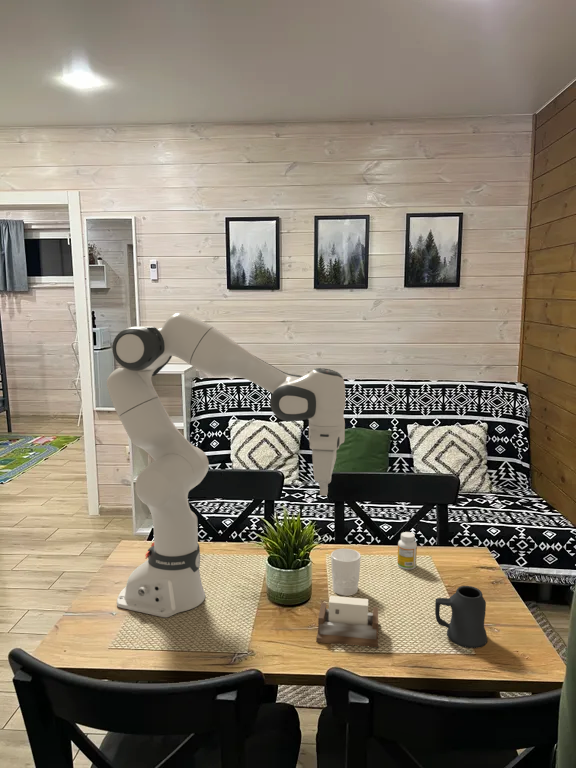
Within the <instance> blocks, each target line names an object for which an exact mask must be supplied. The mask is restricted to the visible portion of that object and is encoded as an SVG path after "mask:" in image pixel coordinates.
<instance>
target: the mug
mask: <svg viewBox="0 0 576 768" xmlns="http://www.w3.org/2000/svg"><path fill="white" fill-rule="evenodd" d="M455 591H456V592H455V593H453V594H452V595H451V596H450V597H439V598H438V597H436V598H435V602H434V603H435V604H434V605H435V606H434V609H435V612H434V613H435V620H436V622H437V624H438V625H440V626H441V627H445V628H446V629H447V631H446V636H447V638H448V639H449V641H451V642H452V643H453V644H455V645H456V646H459V647H462V648H467V649H478V648H483V647H484V646H486V644H487V643H488V636H487V631H486V628H485V619H486V618H485V617H486V609H487V608H486V607H487V600H486V599H485V598H484V596H483V592H482V591H481V590H480V588H477V587H475V586H471V585H461V586H458V587H457V588H456V590H455ZM441 606H446V607H450V609H451V617H450V622H449V623H448V622H447V621H446V620H444V619H442V618H441V616H440V610H441Z"/></svg>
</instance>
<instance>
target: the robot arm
mask: <svg viewBox="0 0 576 768" xmlns="http://www.w3.org/2000/svg"><path fill="white" fill-rule="evenodd" d="M111 347H112V349H111V350H112V354H113V357H114V359H115V361H116V362H117V363H118V365H120V366H119V367H118V368H115V369H114V370H113V371H112V372H111V373H110V374H109V376H108V377H107V379H106V387H107V391H108V394H109V397H110V400H111V403H112V406H113V408H114V410H115V412H116V414H117V416H118V418H119V420H120V422H121V425H123V427H124V430H125V431H126V434H127V436H128V437H129V439H130V442H131V443H132V444H133V445H134V446H135V447H137V448H140V449H142V450H143V451H145V452H146V453H147V454H148V456H150V457H151V458H152V459H153V461H151V462H150V463H149V464H147V465H146V466H145V467H144V468H143V469H142V471H140V473H139V474H138V476H137V478H136V480H135V485H134V486H135V492H136V495H137V497H138V499H139V500H140V501H141V502H142V503H143V504H144V505H146V506H147V508H148V509H149V512H150V515H151V520H152V525H153V528H152V529H153V542H152V543H151V545H150V547H149V548H148V549H147V552H146V553H145V558H144V559H146V560H145V561H144V562H143V563H141V564H140V565H138V566H137V567H136V568H135V569H134V570H133V571H132V572H131V573H130V575H129V577H128V578H127V582H126V584H125V585H126V586H125V587H124V588H122V590H121V591H120V592H119V594H118V596H117V598H116V606H117V608H121V609H125V610H130V611H134V612H139V613H143V614H147V615H148V614H149V615H152V616H156V617H160V618H169V617H171V616H173V615H176V614H178V613H182V612H186V611H190V610H192V609H195V608H196V607H198V606H199V605H201V604H202V603H203V602H204V600H205V599H206V593H205V590H204V587H203V583H202V578H201V570H200V567H201V550H200V544H199V542H198V540H199V536H198V534H199V533H198V516H197V515H196V514H195V512H194V511H192V509H191V508H190V503H189V499H188V497H189V492H190V491H192V490H193V489H194V488H195V487H196V486H198V485H200V484H201V482H202V481H203V480H204V478H205V477H206V475H207V473H208V471H209V467H210V463H209V458H208V456H207V454H206V452H205V451H203V450H202V449H201V448H199V447H197V446H195V445H193V444H192V443H191V442H190V441H189V440H188V439H187V438H186V437H185V436H184V435H183V433H181V432H180V430H179V429H178V428H177V427H176V426H175V424H174V422H173V421H172V419H171V418H170V417H171V416H170V415H169V413H168V412H167V410H166V408H165V406H164V404H163V402H162V400H161V398H160V397H159V395H158V393H157V391H156V389H155V387H154V384H153V382H152V378H153V377H155V376H156V375H157V374H158V373H159V372H160V371H161V370H163V368H165V366H166V365H167V364H168V363H169V362H170V361H171V359H172V358H173V357H176V358H178V359H180V360H182V361H184V362H185V363H187V364H189V365H190V366H191V367H193V368H196V369H197V370H198V371H200V372H203V373H204V374H207V375H211V376H213V377H236V378H237V377H238V378H241V379H244V380H248V381H249V382H251V383H253V384H255V385H256V386H259V387H260V388H262V389H264V390H266V391H268V392H270V393H271V396H270V399H269V400H270V402H269V403H270V409H271V411H272V413H273V415H274V416H275V417H277V418H278V419H280V420H281V421H284V422H296V421H297V422H298V421H304V420H308V442H309V449H310V450H312V451H311V452H312V453H311V456H312V457H311V459H312V469H313V471H312V472H313V478H314V482H316V483H318V486H319V495H320V496H323V497H326V496H328V493H329V491H328V490H329V487H328V486H329V484H330V483H331V482H332V475H333V470H334V467H335V464H336V461H337V451H338V450H339V449H340V446H341V445H342V444H344V443H345V434H346V430H345V429H346V428H345V427H346V423H345V418H344V411H345V408H346V383H345V380H344V377H343V375H342V374H341V373H339V372H338V371H336V370H332V369H330V368H321V367H320V368H319V367H318V368H317V367H316V368H314V369H312V370H311V371H309V372H308V373H306V374H304V375H300V374H293V373H292V374H291V373H287V372H285V371H282V370H280V369H279V368H277V367H275V366H273V365H271V364H270V363H268V362H267V361H264V360H263V359H261V358H259V357H257V356H255V355H254V354H252V353H250V351H248V350H247V349H245V348H244V347H242V346H241V345H240V344H238V343H237V342H236V341H234V340H233V339H232V338H230V337H229V336H228V335H226V334H224V333H223V332H222V331H220V330H219V329H218V328H216V327H214V326H212V325H211V324H208V323H207V322H205V321H203V320H201V319H199V318H197V317H194V316H192V315H189V314H186V313H183V312H176V313H173V314H172V315H171V316H169V317H168V318H167V319H166V320H165V321H164V323H163V325H162V326H161V327H160V328H157V327H155V326H137V325H136V326H130V327H127V328H125V329H123V330H121V331H120V332H118V333H117V335H116V336H115V338H114V340H113V342H112V346H111Z"/></svg>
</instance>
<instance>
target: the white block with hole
mask: <svg viewBox="0 0 576 768" xmlns="http://www.w3.org/2000/svg"><path fill="white" fill-rule="evenodd" d="M328 609H329V622H334V623H345V624H356V625H366V626H368V613H369V599H368V598H359V597H348V596H340V595H339V596H337V595H330V596H329V600H328Z"/></svg>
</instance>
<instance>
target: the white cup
mask: <svg viewBox="0 0 576 768" xmlns="http://www.w3.org/2000/svg"><path fill="white" fill-rule="evenodd" d="M330 556H331V557H330V559H331V560H330V561H331V579H332V580H331V581H332V591H333V592H334V593H335V594H337V595H339V596H343V597H348V596H352V595H355V594H357V592H358V589H359V582H360V571H361V557H362V555H361V553H360V552H359V551H357V550H356V549H352V548H337V549H335V550H333V551H332V552H331V553H330Z"/></svg>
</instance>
